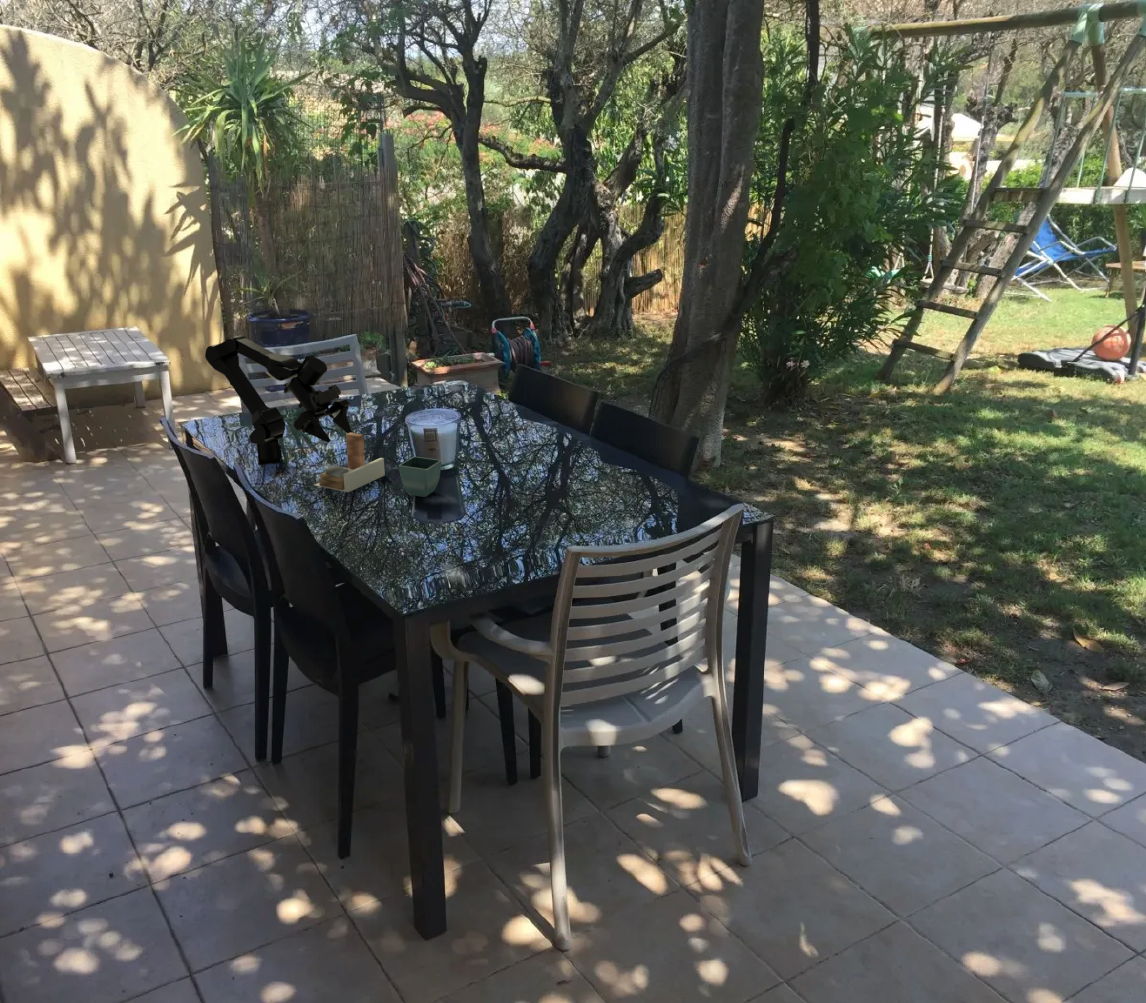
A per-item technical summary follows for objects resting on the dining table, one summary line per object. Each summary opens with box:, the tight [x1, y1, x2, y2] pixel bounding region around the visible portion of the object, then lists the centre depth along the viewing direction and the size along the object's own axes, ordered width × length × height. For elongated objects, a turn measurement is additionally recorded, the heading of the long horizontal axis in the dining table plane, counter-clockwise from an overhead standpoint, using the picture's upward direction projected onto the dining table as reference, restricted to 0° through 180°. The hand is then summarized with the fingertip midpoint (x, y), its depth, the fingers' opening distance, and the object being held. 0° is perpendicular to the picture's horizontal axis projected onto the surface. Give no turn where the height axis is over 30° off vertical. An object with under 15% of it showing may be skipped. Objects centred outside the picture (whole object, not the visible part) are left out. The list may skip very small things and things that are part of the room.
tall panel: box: [345, 432, 366, 469], centre depth 279 cm, size 4×2×12 cm, turn 63°
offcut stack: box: [318, 465, 348, 491], centre depth 272 cm, size 8×5×5 cm, turn 63°
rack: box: [314, 457, 386, 493], centre depth 276 cm, size 12×16×6 cm
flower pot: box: [398, 456, 442, 498], centre depth 269 cm, size 9×9×9 cm
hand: (340, 437), depth 280 cm, fingers open, 9 cm apart
